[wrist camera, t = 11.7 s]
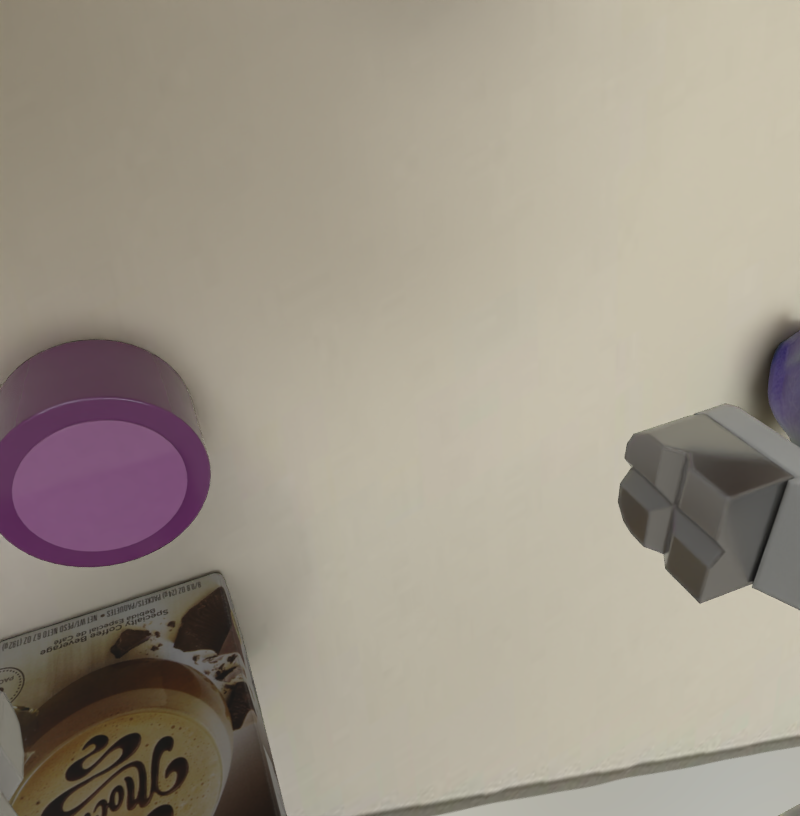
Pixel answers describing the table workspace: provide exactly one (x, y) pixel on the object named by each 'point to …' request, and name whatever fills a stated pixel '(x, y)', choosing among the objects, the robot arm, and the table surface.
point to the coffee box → (141, 711)
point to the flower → (786, 387)
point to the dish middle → (98, 455)
